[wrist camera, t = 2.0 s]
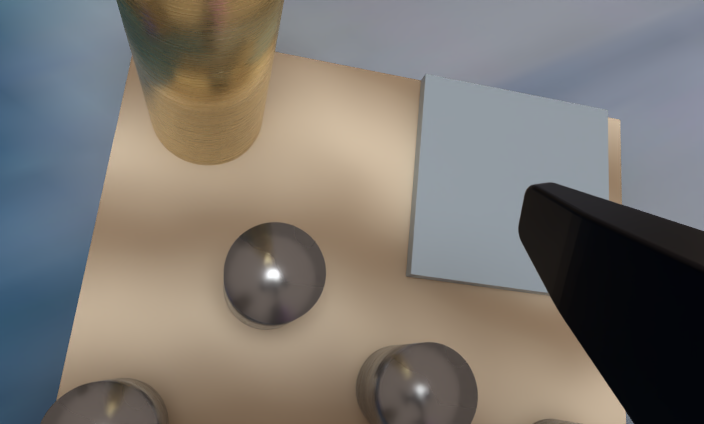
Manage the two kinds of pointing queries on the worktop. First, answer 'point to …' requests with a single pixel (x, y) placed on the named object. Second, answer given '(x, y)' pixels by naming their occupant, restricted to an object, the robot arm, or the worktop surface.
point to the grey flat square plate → (493, 177)
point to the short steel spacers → (280, 309)
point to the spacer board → (340, 259)
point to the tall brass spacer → (204, 71)
